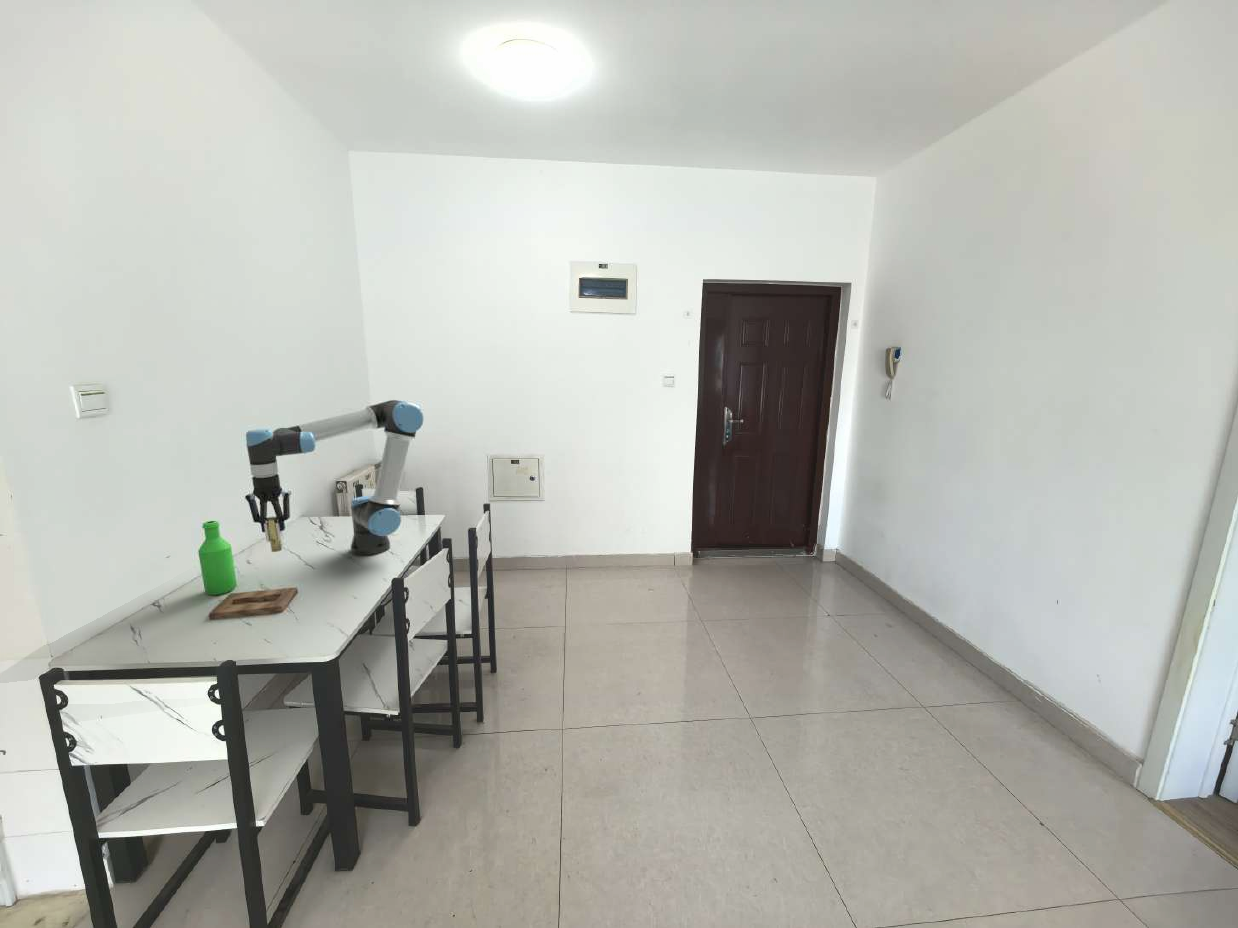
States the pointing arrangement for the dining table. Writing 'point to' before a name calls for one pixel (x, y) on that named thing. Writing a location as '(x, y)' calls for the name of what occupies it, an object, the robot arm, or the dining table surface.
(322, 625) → the dining table surface
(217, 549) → the bottle
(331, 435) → the robot arm
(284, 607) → the keyhole board
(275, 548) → the peg
